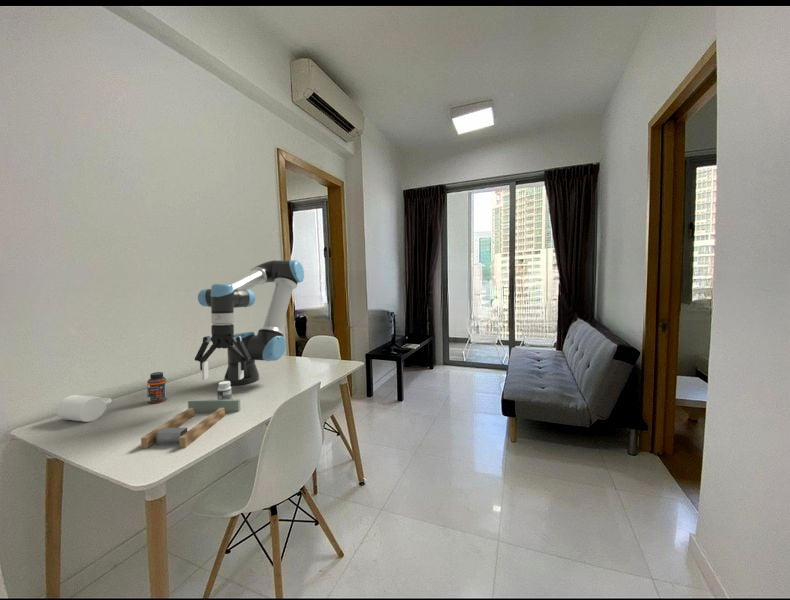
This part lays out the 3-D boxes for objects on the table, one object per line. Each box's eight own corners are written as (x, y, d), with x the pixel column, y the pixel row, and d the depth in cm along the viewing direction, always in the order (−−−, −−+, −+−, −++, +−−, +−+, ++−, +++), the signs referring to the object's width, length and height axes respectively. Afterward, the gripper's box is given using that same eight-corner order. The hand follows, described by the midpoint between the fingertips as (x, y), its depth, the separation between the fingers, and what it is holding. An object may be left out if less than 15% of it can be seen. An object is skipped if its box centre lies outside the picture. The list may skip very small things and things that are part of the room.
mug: (79, 426, 99) (78, 402, 99) (56, 423, 101) (55, 399, 101) (119, 411, 111) (118, 389, 110) (98, 409, 113) (97, 387, 112)
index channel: (189, 416, 106) (189, 407, 106) (224, 415, 107) (224, 407, 107) (141, 448, 85) (141, 438, 85) (185, 447, 86) (185, 437, 86)
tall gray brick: (163, 439, 90) (163, 427, 90) (187, 439, 91) (187, 427, 91) (156, 444, 87) (155, 432, 87) (180, 444, 88) (180, 432, 88)
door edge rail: (191, 410, 112) (190, 399, 111) (240, 409, 112) (240, 399, 112) (188, 411, 110) (188, 401, 110) (238, 411, 111) (238, 400, 110)
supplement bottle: (148, 405, 116) (147, 376, 116) (147, 400, 121) (146, 372, 120) (167, 401, 120) (166, 373, 119) (166, 397, 124) (165, 370, 124)
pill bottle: (216, 403, 118) (215, 382, 118) (229, 400, 121) (228, 379, 121) (220, 407, 115) (219, 385, 114) (233, 403, 118) (233, 382, 118)
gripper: (183, 325, 112) (184, 381, 113) (251, 325, 113) (251, 381, 114) (195, 322, 120) (196, 375, 121) (259, 323, 121) (259, 375, 121)
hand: (223, 378), depth 117 cm, fingers open, 13 cm apart
